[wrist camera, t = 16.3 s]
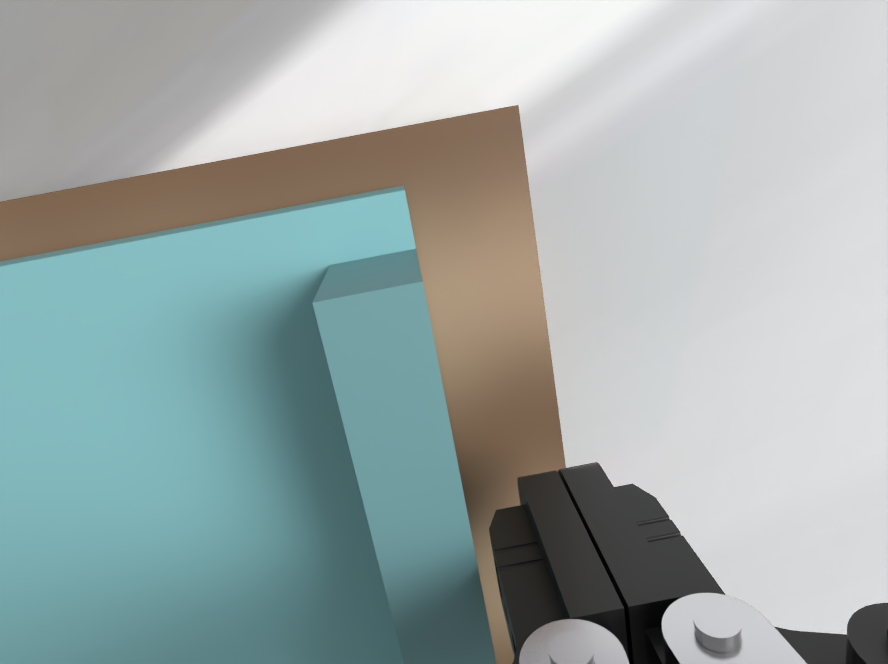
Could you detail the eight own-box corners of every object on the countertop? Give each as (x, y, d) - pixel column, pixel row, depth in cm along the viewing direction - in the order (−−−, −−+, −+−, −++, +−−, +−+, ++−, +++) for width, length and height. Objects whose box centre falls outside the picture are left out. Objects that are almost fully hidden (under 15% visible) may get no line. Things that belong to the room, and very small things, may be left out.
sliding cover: (500, 683, 15) (530, 839, 12) (90, 768, 15) (3, 951, 12) (403, 185, 11) (408, 207, 8) (-146, 288, 11) (-375, 355, 8)
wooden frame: (563, 605, 18) (595, 692, 16) (-183, 757, 18) (-291, 875, 15) (492, 110, 14) (518, 105, 11) (-496, 295, 14) (-733, 338, 11)
